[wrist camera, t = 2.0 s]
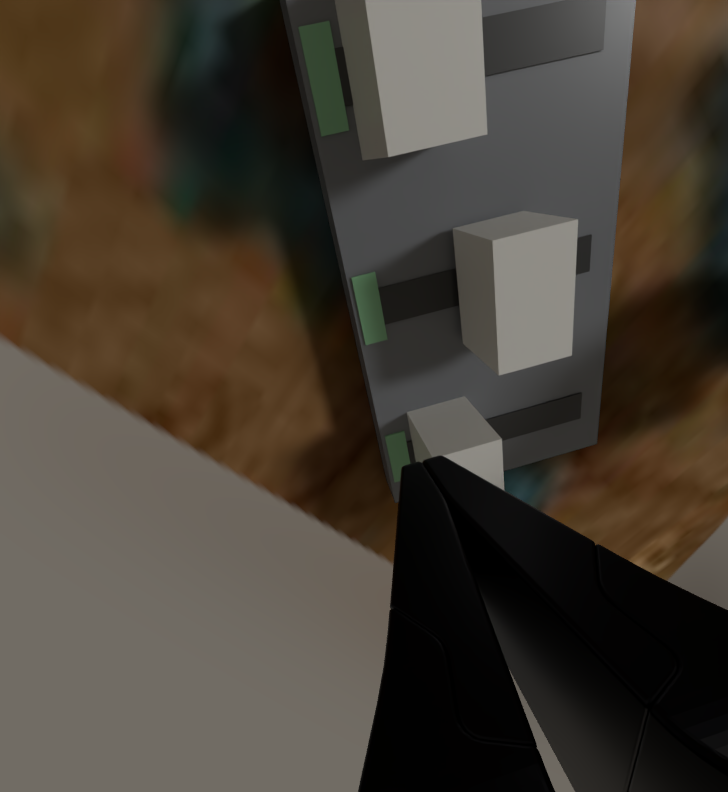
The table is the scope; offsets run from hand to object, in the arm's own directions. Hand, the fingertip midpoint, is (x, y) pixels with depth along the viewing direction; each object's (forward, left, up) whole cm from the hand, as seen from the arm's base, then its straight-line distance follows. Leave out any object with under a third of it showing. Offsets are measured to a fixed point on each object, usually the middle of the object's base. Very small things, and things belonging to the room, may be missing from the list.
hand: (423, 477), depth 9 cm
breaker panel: (-7, 0, -13) cm, 15 cm away
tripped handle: (-7, 0, -11) cm, 12 cm away
